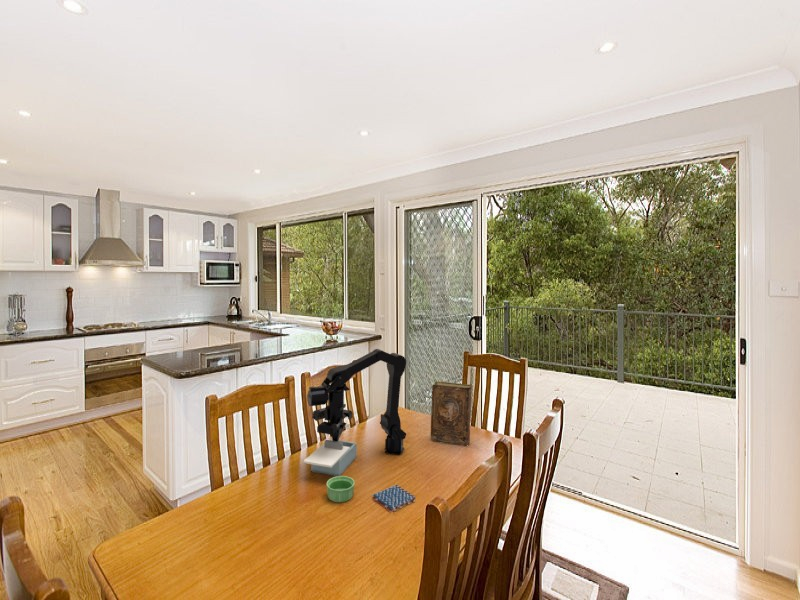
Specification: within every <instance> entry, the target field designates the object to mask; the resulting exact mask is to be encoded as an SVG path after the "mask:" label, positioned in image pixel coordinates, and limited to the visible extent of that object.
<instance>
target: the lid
mask: <svg viewBox="0 0 800 600" xmlns="http://www.w3.org/2000/svg"><path fill="white" fill-rule="evenodd" d="M349 449H350V447H347V446H343V442H337V441H331V439H329V440H328V439H325V440H324V443H322V444H321V445H320V446H319V447H318V448H317V449H315V450H314V451H313V452H312V453H310V454H309V456H307V457H305V459H304V460H303V464H308V465H311V464H312V465H318V466H324V467H330V468H332V467H333V466H334V465H335V464H336V463H337V462H338V461H339V460H340V458H341V457H342V456H343V455H344V454H345V453H346V452H347V451H348V450H349Z"/></svg>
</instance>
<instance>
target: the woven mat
mask: <svg viewBox="0 0 800 600" xmlns="http://www.w3.org/2000/svg"><path fill="white" fill-rule="evenodd" d="M401 487H402V486H398V484H395V485H392V486H391V487H388V488H385V489H383V490H380V491H377V492H376V493H374V494H373V495H372V496H371V499H372V500H373V501H374V502H376V503H377V504H379V505H380V506H382V507H383V509H386V510H387V511H388V512H390V513H391V514H393V513H394V512H396V511H400V509H402V508H404V507H407V506H408V505H410V504H411V505H413V503H415V502H416V497H415V496H414V494H411V492H408V491H407V490H405V489H404V488H401Z"/></svg>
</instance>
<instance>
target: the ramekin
mask: <svg viewBox="0 0 800 600" xmlns="http://www.w3.org/2000/svg"><path fill="white" fill-rule="evenodd" d="M354 487H355V480H354V479H353V478H352V477H349V476H346V475H340V476H333V477H331V478H329V479H328V480H327V481H326V488H327V489H326V490H327V498H328V499H329V500H330V501H332V502H333V503H344V502H348V501H349V500H351V499H352V498H353V495H354V489H355V488H354Z"/></svg>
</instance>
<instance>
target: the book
mask: <svg viewBox="0 0 800 600" xmlns="http://www.w3.org/2000/svg"><path fill="white" fill-rule="evenodd" d="M431 388H432V389H431V410H430V411H431V412H430V414H431V415H430V416H431V417H430V440H431V442H435V443H440V442H442V443H441V444H447V443H448V445H453V444H455V446H460V445H463V446H462V447H468V446H469V445H470V444H471V443H470V441H471V438H470V436H471V412H472V411H471V410H472V409H471V408H472V385H471V384H467V383H466V384H465V383H456V382H447V381H435V382H434V383H433V384H432V386H431ZM467 445H468V446H467Z"/></svg>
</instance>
